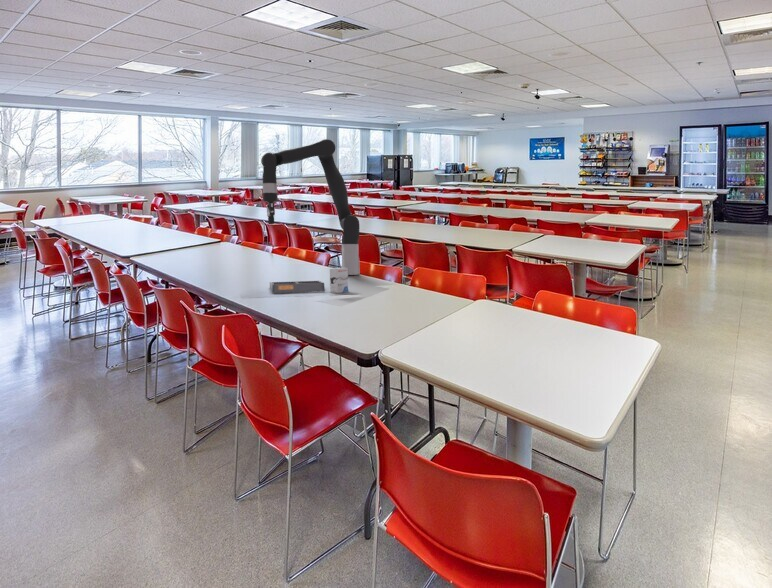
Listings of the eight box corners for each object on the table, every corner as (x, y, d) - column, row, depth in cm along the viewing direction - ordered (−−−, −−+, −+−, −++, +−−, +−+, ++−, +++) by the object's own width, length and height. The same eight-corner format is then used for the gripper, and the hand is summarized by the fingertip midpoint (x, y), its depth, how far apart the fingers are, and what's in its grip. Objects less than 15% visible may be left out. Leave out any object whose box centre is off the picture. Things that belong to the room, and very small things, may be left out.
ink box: (340, 291, 240) (340, 267, 239) (348, 291, 237) (348, 267, 236) (329, 292, 233) (329, 268, 232) (337, 293, 230) (336, 268, 229)
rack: (318, 289, 249) (318, 280, 249) (324, 291, 236) (324, 282, 236) (269, 290, 241) (269, 282, 240) (272, 293, 228) (272, 284, 228)
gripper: (278, 191, 245) (280, 223, 247) (275, 194, 258) (277, 224, 260) (263, 191, 242) (265, 223, 244) (261, 193, 256) (262, 224, 258)
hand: (271, 224), depth 252 cm, fingers open, 8 cm apart
